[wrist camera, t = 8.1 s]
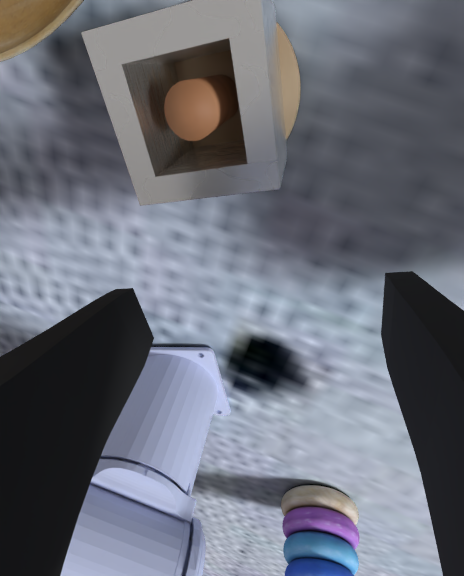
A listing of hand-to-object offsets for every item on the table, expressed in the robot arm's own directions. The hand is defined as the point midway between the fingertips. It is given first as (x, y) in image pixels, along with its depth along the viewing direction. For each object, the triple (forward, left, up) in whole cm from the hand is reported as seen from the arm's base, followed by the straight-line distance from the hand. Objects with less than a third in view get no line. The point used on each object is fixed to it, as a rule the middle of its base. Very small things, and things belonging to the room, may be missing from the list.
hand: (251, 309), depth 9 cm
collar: (-2, +5, -9) cm, 11 cm away
